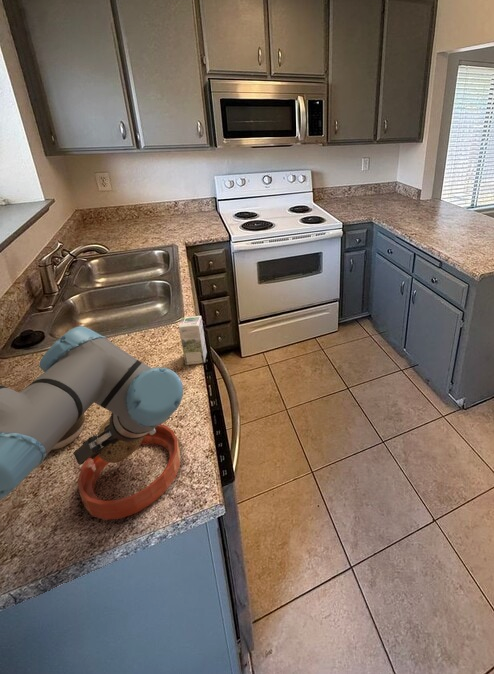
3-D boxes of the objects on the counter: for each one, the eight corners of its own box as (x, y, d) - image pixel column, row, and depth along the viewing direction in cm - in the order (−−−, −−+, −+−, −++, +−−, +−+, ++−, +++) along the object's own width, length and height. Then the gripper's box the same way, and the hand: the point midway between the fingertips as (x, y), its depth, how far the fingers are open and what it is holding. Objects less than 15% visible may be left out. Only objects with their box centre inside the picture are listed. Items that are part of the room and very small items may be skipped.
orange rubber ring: (73, 538, 64) (66, 520, 63) (94, 455, 80) (89, 438, 79) (181, 500, 71) (177, 482, 69) (180, 429, 87) (177, 413, 85)
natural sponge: (139, 472, 72) (132, 440, 68) (91, 476, 71) (81, 443, 66) (153, 432, 80) (147, 400, 76) (110, 434, 79) (102, 402, 74)
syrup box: (207, 353, 114) (201, 314, 109) (204, 365, 109) (198, 324, 104) (189, 355, 113) (182, 316, 108) (185, 368, 108) (177, 326, 103)
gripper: (75, 482, 52) (64, 492, 67) (204, 396, 68) (172, 419, 83) (53, 436, 54) (48, 455, 68) (184, 362, 70) (157, 390, 84)
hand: (116, 435), depth 76 cm, fingers closed on natural sponge, 9 cm apart
